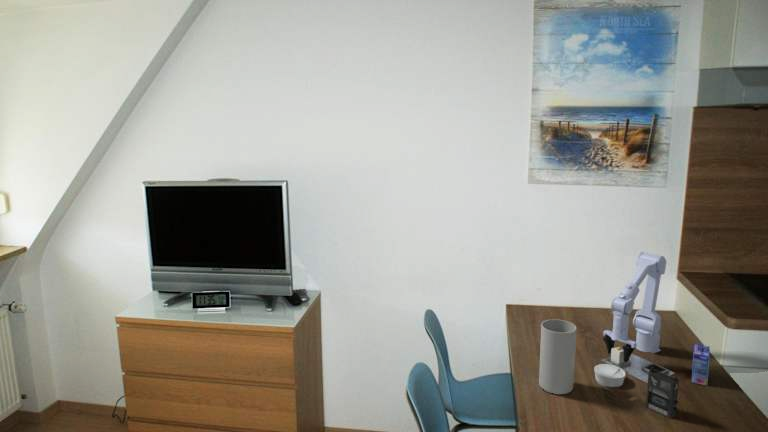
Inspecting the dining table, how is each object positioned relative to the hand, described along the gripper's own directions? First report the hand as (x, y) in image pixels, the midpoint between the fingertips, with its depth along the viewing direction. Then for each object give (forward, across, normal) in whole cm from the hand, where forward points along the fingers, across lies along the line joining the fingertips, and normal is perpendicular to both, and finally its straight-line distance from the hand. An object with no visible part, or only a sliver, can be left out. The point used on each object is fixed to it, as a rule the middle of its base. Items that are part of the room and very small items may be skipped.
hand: (618, 357), depth 213 cm
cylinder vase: (+4, 0, -35) cm, 35 cm away
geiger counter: (+4, +30, -15) cm, 34 cm away
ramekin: (+4, +8, -15) cm, 17 cm away
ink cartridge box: (+4, +23, +18) cm, 29 cm away
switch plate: (+3, +6, +4) cm, 8 cm away
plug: (+2, 0, 0) cm, 2 cm away
